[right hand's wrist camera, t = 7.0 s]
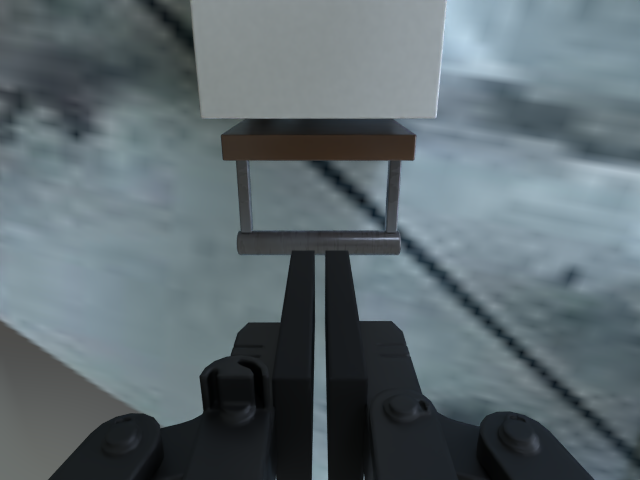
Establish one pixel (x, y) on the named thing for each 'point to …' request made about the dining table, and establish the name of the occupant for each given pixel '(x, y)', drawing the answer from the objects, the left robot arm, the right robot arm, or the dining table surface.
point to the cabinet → (318, 58)
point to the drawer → (318, 145)
